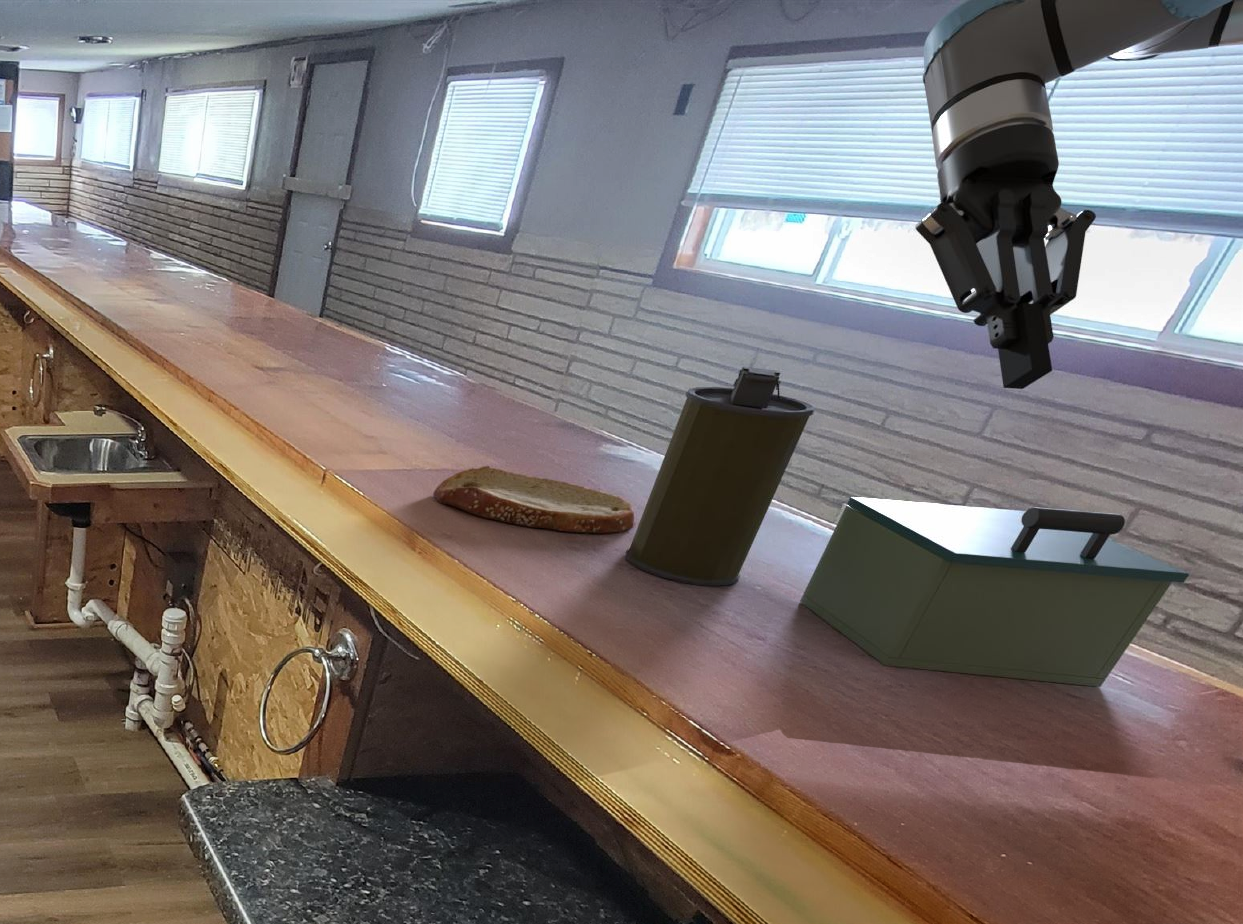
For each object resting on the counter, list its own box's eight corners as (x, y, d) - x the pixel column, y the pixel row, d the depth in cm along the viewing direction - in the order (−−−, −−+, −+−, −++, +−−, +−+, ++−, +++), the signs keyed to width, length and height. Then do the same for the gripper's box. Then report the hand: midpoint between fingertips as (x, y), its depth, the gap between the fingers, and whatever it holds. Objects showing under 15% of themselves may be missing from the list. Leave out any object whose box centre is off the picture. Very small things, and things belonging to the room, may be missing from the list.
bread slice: (649, 528, 112) (661, 497, 110) (534, 545, 106) (545, 512, 104) (525, 482, 126) (534, 453, 124) (417, 494, 120) (425, 464, 118)
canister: (740, 595, 96) (834, 388, 86) (622, 570, 100) (697, 371, 90) (736, 561, 104) (821, 369, 94) (627, 540, 108) (697, 354, 98)
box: (1100, 687, 81) (1175, 579, 76) (884, 665, 83) (943, 559, 78) (986, 619, 93) (1044, 521, 88) (799, 601, 95) (845, 505, 90)
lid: (1184, 583, 76) (1221, 529, 73) (949, 562, 78) (979, 509, 75) (1045, 521, 88) (1073, 473, 86) (846, 504, 90) (868, 458, 88)
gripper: (1034, 188, 91) (1070, 409, 85) (883, 181, 92) (907, 398, 86) (1115, 121, 84) (1160, 358, 78) (949, 115, 85) (981, 346, 79)
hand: (1027, 379), depth 82 cm, fingers closed
